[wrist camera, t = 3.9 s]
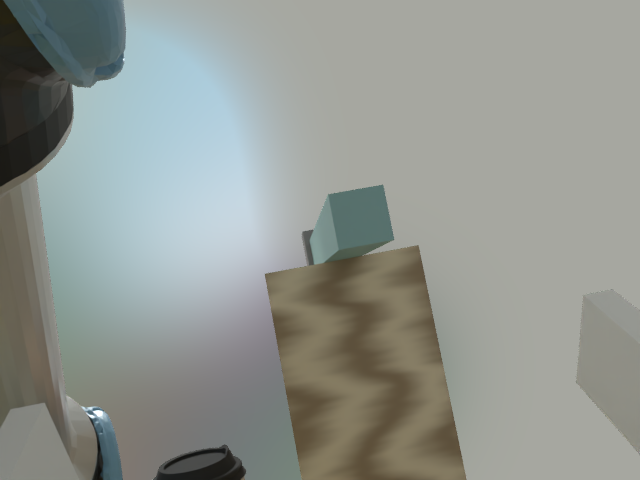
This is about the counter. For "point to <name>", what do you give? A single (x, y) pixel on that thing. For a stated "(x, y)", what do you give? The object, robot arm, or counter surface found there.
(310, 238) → the teal bar
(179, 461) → the coffee cup
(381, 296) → the birch stand
